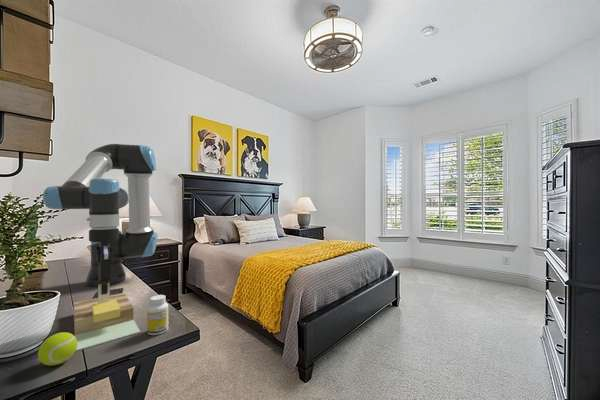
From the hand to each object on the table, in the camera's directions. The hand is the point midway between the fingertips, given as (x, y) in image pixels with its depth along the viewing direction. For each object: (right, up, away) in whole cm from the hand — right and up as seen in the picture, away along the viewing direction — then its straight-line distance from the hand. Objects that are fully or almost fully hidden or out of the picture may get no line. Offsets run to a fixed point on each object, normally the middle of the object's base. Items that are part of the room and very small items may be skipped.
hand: (103, 303), depth 81 cm
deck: (-3, -6, +3) cm, 7 cm away
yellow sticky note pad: (+3, -2, -4) cm, 5 cm away
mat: (+7, -6, -8) cm, 12 cm away
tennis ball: (+5, -6, -21) cm, 22 cm away
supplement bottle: (+20, -6, -6) cm, 22 cm away
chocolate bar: (-14, -7, +21) cm, 26 cm away
